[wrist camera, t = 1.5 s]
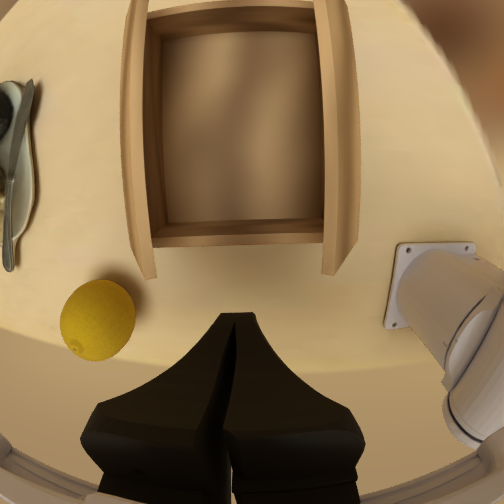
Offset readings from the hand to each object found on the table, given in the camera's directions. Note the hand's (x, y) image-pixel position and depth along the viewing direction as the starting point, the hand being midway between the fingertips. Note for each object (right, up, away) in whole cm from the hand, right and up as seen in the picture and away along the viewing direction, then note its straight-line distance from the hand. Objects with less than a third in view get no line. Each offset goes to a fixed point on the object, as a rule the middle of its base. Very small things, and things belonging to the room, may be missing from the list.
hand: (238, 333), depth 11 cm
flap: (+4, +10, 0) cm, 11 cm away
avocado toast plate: (-26, +13, +7) cm, 30 cm away
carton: (0, +12, +7) cm, 14 cm away
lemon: (-11, 0, +11) cm, 16 cm away
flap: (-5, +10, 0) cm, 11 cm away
